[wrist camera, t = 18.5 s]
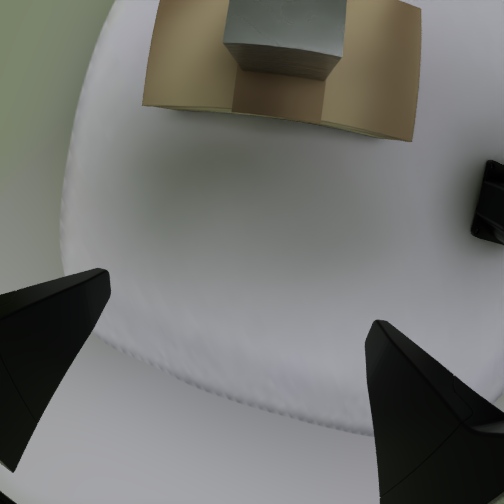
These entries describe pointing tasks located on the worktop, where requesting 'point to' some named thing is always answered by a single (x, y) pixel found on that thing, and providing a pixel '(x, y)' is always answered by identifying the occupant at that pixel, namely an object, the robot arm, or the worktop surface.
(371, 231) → the worktop surface
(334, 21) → the block
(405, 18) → the lid
